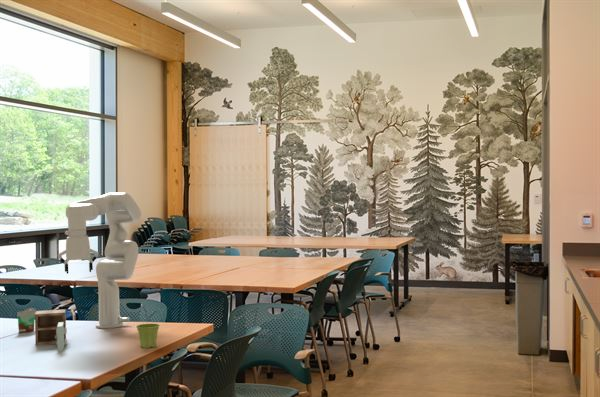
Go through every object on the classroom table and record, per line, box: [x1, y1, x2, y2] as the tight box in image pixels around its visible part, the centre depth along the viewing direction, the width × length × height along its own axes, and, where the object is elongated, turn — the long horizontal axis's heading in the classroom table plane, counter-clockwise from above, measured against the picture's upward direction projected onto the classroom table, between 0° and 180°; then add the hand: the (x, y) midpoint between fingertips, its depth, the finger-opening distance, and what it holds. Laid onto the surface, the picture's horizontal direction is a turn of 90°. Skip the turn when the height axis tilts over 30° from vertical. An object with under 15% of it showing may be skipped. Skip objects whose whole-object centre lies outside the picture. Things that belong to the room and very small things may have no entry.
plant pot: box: [135, 323, 160, 349], centre depth 317 cm, size 9×9×9 cm
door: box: [55, 322, 68, 352], centre depth 317 cm, size 15×4×10 cm, turn 15°
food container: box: [16, 307, 37, 334], centre depth 357 cm, size 12×6×10 cm, turn 179°
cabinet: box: [34, 309, 67, 346], centre depth 327 cm, size 12×14×13 cm
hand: (78, 272), depth 339 cm, fingers open, 9 cm apart
